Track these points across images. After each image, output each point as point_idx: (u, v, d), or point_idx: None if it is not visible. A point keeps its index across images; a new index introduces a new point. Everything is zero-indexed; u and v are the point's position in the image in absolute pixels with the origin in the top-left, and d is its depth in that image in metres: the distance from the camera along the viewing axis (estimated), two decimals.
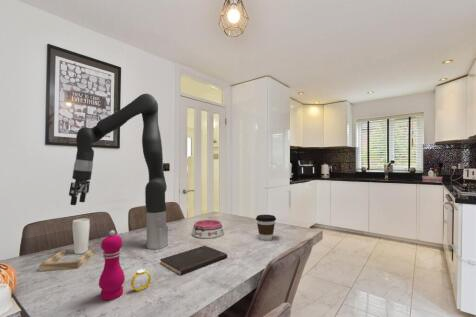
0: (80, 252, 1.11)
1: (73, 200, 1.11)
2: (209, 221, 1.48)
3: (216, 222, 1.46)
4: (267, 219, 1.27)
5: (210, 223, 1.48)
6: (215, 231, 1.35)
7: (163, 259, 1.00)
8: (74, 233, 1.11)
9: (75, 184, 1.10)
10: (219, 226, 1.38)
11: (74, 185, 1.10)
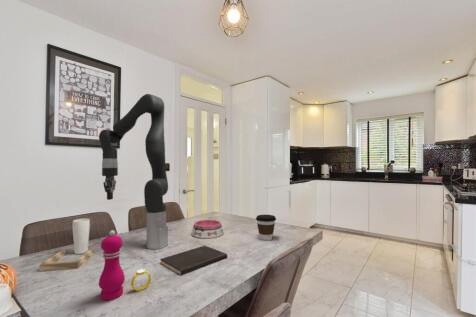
0: (80, 252, 1.11)
1: (109, 195, 1.30)
2: (209, 221, 1.48)
3: (216, 222, 1.47)
4: (267, 219, 1.27)
5: (209, 223, 1.48)
6: (215, 231, 1.35)
7: (163, 259, 1.00)
8: (74, 233, 1.11)
9: (107, 183, 1.26)
10: (219, 226, 1.38)
11: (107, 184, 1.26)
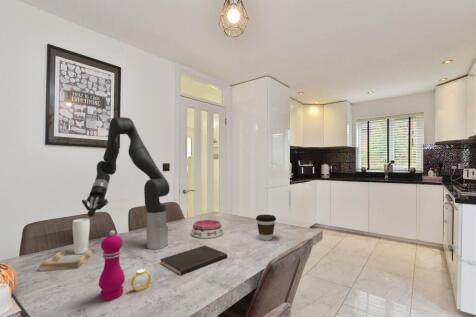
0: (80, 252, 1.11)
1: None
2: (208, 221, 1.48)
3: (215, 222, 1.47)
4: (267, 219, 1.27)
5: (209, 223, 1.48)
6: (214, 231, 1.35)
7: (163, 259, 1.00)
8: (74, 233, 1.11)
9: None
10: (218, 226, 1.38)
11: None
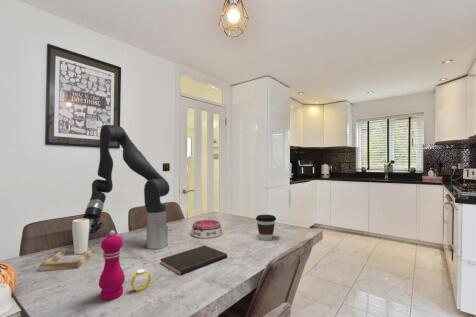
0: (80, 252, 1.11)
1: None
2: (208, 221, 1.49)
3: (215, 222, 1.47)
4: (267, 219, 1.27)
5: (208, 223, 1.48)
6: (214, 231, 1.35)
7: (163, 259, 1.00)
8: (74, 233, 1.11)
9: None
10: (218, 226, 1.38)
11: None
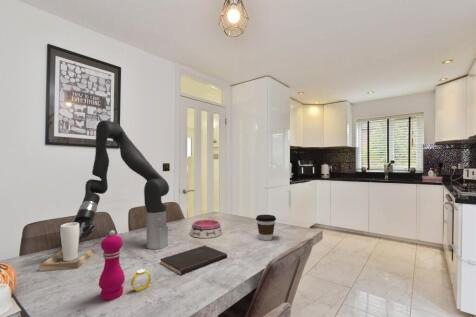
0: (68, 259, 1.03)
1: None
2: (207, 221, 1.49)
3: (214, 222, 1.47)
4: (267, 219, 1.27)
5: (208, 222, 1.48)
6: (213, 231, 1.35)
7: (163, 259, 1.00)
8: (62, 239, 1.02)
9: None
10: (217, 226, 1.38)
11: None
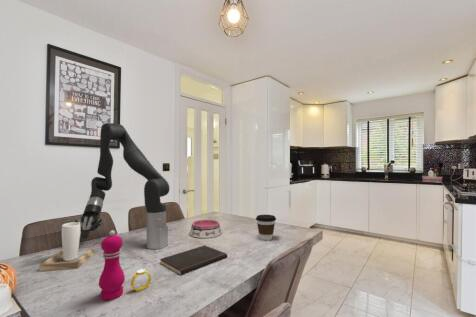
0: (68, 259, 1.03)
1: None
2: (207, 221, 1.49)
3: (214, 222, 1.47)
4: (267, 219, 1.27)
5: (208, 222, 1.48)
6: (213, 231, 1.35)
7: (163, 259, 1.00)
8: (62, 238, 1.03)
9: None
10: (217, 226, 1.38)
11: None
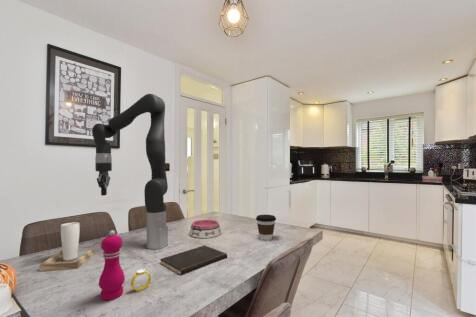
0: (68, 258, 1.03)
1: (103, 191, 1.27)
2: (206, 221, 1.49)
3: (213, 222, 1.47)
4: (267, 219, 1.27)
5: (207, 222, 1.48)
6: (212, 231, 1.35)
7: (163, 259, 1.00)
8: (62, 238, 1.03)
9: (100, 179, 1.23)
10: (216, 226, 1.38)
11: (100, 180, 1.23)
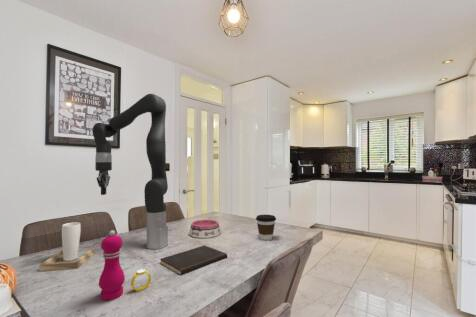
0: (68, 259, 1.03)
1: (103, 190, 1.27)
2: (206, 221, 1.49)
3: (213, 222, 1.47)
4: (267, 219, 1.27)
5: (207, 222, 1.48)
6: (212, 231, 1.35)
7: (163, 259, 1.00)
8: (62, 238, 1.03)
9: (100, 178, 1.22)
10: (216, 226, 1.38)
11: (100, 180, 1.23)
